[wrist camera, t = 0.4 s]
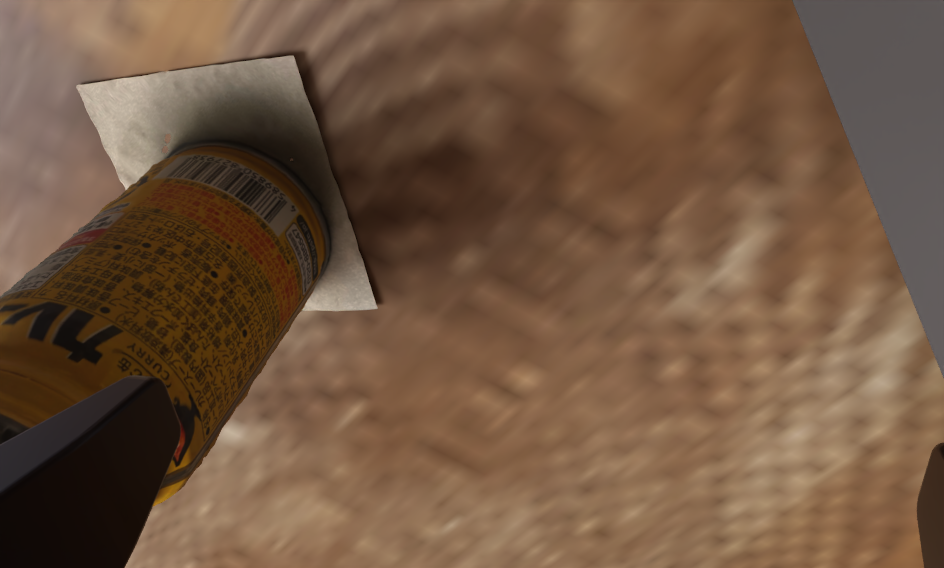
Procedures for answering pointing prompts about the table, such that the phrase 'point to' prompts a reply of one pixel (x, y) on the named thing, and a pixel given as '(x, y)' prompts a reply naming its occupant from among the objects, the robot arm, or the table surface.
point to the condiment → (186, 253)
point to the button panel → (893, 126)
